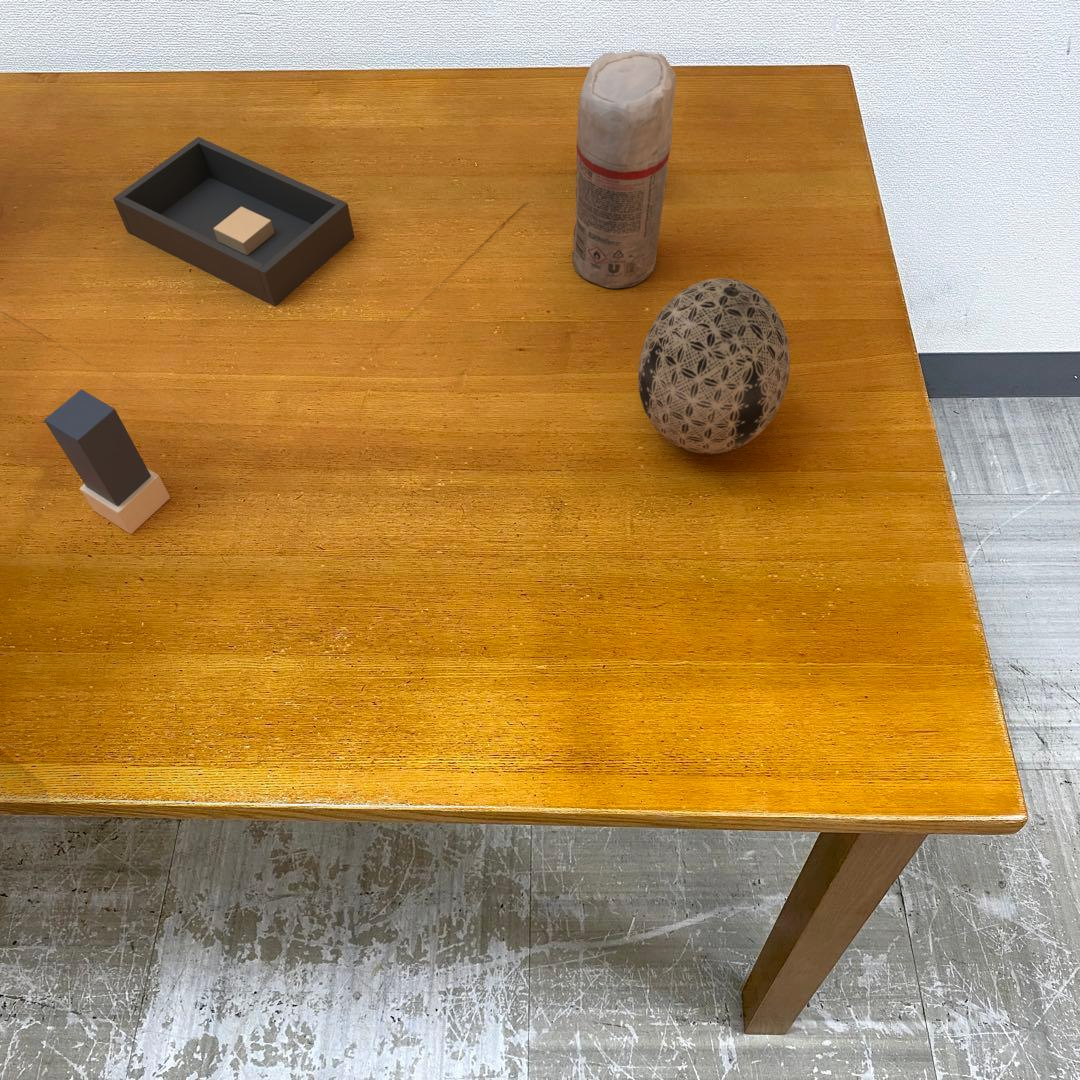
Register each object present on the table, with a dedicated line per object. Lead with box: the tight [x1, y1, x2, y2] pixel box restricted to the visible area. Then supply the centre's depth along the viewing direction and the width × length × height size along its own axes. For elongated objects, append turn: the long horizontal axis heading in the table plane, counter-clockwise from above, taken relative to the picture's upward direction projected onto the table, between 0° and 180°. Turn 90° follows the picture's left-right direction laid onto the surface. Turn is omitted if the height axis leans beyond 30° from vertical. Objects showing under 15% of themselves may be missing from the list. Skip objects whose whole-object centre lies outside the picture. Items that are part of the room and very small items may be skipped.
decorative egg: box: [637, 277, 791, 455], centre depth 80 cm, size 12×12×15 cm
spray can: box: [571, 49, 677, 289], centre depth 89 cm, size 8×8×20 cm
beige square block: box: [213, 206, 275, 255], centre depth 99 cm, size 4×4×2 cm
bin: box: [112, 136, 355, 307], centre depth 99 cm, size 20×12×5 cm, turn 56°
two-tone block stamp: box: [43, 389, 171, 535], centre depth 78 cm, size 4×4×11 cm
